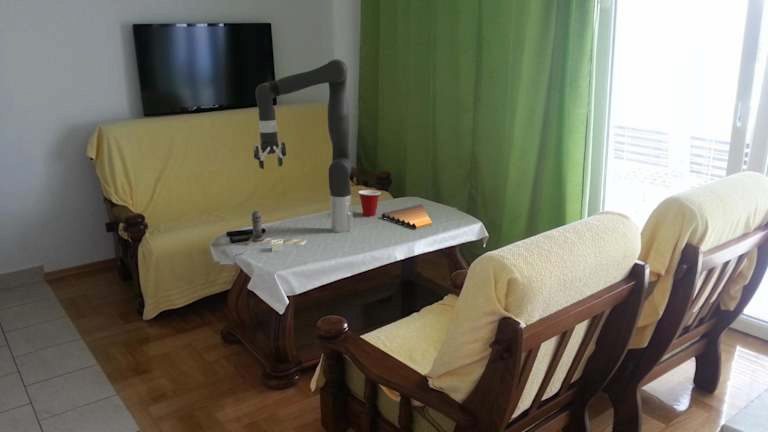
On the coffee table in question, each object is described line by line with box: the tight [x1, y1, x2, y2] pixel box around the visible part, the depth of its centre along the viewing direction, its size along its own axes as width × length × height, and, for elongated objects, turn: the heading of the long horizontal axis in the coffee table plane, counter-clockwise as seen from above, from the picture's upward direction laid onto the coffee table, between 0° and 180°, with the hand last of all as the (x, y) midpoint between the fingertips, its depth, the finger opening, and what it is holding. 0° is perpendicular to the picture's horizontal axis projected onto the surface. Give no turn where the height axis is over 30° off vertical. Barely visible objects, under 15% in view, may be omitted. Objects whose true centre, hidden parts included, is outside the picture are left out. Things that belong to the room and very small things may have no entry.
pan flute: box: [381, 203, 433, 230], centre depth 296 cm, size 25×3×25 cm
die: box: [271, 238, 284, 252], centre depth 251 cm, size 4×4×5 cm
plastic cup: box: [358, 189, 381, 217], centre depth 300 cm, size 11×11×12 cm
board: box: [245, 237, 308, 246], centre depth 261 cm, size 26×8×1 cm, turn 81°
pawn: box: [251, 210, 265, 243], centre depth 260 cm, size 5×5×13 cm
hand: (271, 167), depth 269 cm, fingers open, 8 cm apart
